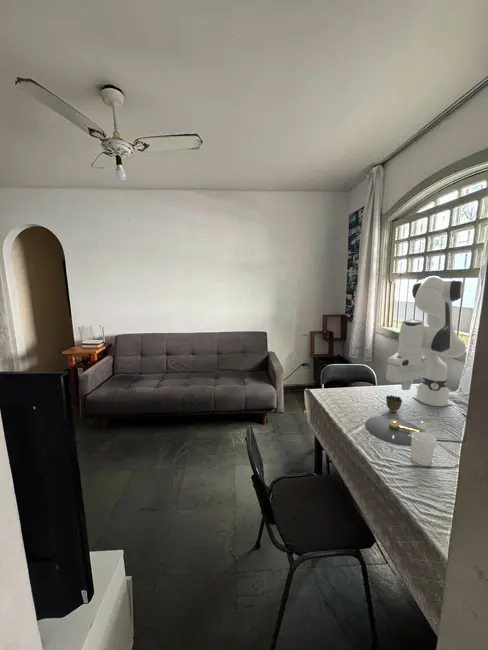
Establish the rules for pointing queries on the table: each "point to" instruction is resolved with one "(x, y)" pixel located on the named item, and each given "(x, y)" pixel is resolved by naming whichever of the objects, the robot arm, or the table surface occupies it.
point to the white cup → (422, 448)
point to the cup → (393, 403)
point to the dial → (382, 430)
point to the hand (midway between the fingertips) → (405, 389)
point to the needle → (396, 426)
